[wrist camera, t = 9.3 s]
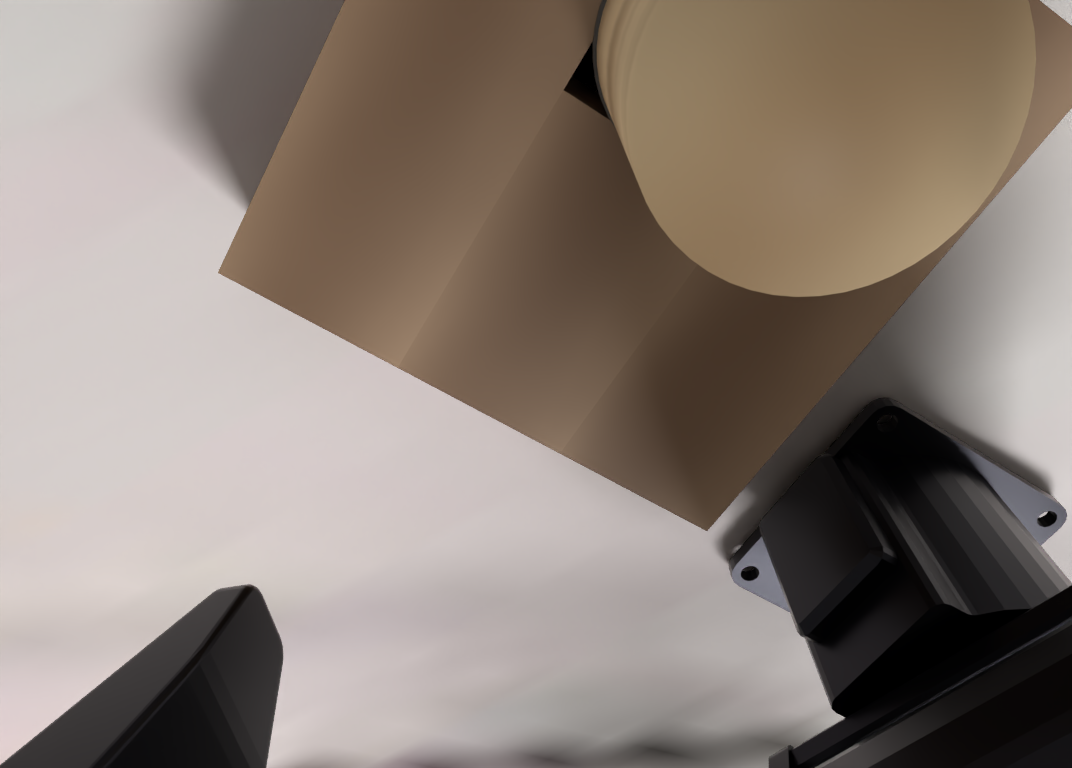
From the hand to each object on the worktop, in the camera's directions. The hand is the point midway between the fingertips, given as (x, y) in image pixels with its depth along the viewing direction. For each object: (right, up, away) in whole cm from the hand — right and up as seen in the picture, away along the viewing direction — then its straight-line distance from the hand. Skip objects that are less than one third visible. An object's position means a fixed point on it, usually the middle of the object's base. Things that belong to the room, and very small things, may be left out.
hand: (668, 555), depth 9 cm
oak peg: (+2, +9, +8) cm, 12 cm away
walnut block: (+1, +7, +10) cm, 12 cm away
